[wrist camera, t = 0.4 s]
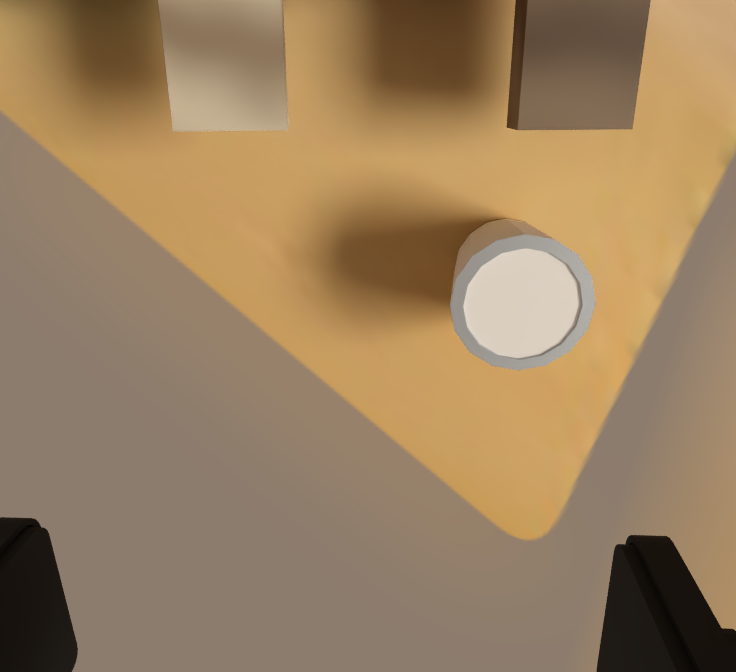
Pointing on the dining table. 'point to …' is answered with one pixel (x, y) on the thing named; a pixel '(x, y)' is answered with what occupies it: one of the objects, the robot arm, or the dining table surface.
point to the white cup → (519, 295)
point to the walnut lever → (527, 79)
